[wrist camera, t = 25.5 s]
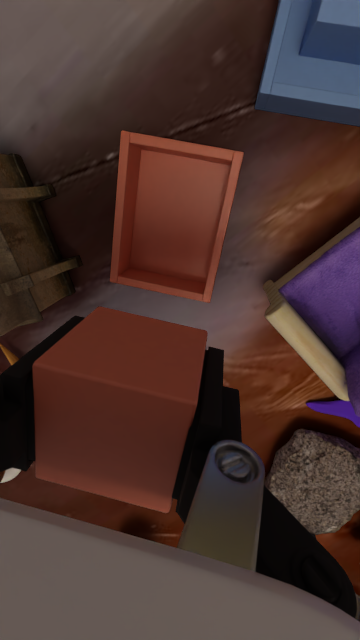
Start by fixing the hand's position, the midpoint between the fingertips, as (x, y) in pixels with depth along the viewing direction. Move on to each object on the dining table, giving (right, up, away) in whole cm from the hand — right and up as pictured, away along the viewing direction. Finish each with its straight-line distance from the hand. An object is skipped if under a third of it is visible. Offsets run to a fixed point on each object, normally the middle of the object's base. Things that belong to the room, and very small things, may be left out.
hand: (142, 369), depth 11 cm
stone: (+15, -13, +21) cm, 29 cm away
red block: (0, 0, 0) cm, 0 cm away
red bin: (+1, +10, +13) cm, 16 cm away
